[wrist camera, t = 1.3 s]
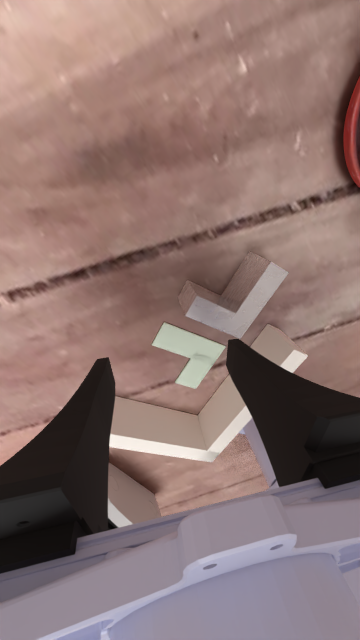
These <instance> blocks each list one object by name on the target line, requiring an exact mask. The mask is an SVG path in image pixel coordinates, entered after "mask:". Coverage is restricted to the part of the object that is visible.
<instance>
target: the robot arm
mask: <svg viewBox="0 0 360 640" xmlns="http://www.w3.org/2000/svg"><path fill="white" fill-rule="evenodd" d="M226 366H227V369H228V372H229V374H230V377H231V379H232V381H233V383H234V385H235V387H236V388H237V390H238V392H239V394H240V396H241V397H242V399H243V401H244V403H245V405H246V406H247V408H248V410H249V412H250V414H251V416H252V419H251V420H250V421H249V422H248V423H247V424H246V425H245V426H244V427H243V428H242V430H241V431H240V432H239V433H241V434H245V435H246V437H247V439H248V441H249V444H250V446H251V448H252V450H253V452H254V455H255V457H256V459H257V461H258V463H259V466H260V468H261V470H262V472H263V474H264V477H265V479H266V481H267V483H268V485H269V488H268V489H267V490H266V491H263V492H259V493H255V494H251V495H247V496H243V497H239V498H235V499H231V500H227V501H223V502H219V503H215V504H211V505H207V506H203V507H199V508H195V509H191V510H187V511H183V512H179V513H175V514H171V515H167V516H163V517H159V518H156V519H152V520H148V521H144V522H140V523H136V524H132V525H128V526H124V527H120V528H116V529H112V530H108V467H109V443H110V433H111V426H112V419H113V411H114V404H115V380H114V376H113V372H112V369H111V365H110V361H109V357H108V358H101V359H97V360H96V362H95V363H94V365H93V367H92V368H91V370H90V372H89V373H88V375H87V376H86V378H85V379H84V381H83V382H82V384H81V385H80V387H79V388H78V390H77V391H76V392H75V394H74V395H73V396H72V398H71V399H70V400H69V402H68V403H67V404H66V405H65V406H64V408H63V409H62V410H61V411H60V412H59V413H58V415H57V416H56V417H55V418H54V419H53V420H52V421H51V422H50V423H49V424H48V425H47V426H46V427H45V428H44V429H43V430H42V431H41V432H40V433H39V434H38V435H37V436H36V437H35V438H34V439H32V440H31V441H30V442H29V443H28V444H27V445H26V446H25V447H23V448H22V449H21V450H20V451H19V452H17V453H16V454H15V455H14V456H13V457H11V458H10V459H9V460H7V461H6V462H5V463H4V464H2V465H1V466H0V640H360V398H358V397H355V396H351V395H348V394H344V393H341V392H338V391H335V390H332V389H329V388H326V387H323V386H321V385H318V384H316V383H313V382H311V381H309V380H306V379H304V378H302V377H299V376H297V375H295V374H293V373H291V372H289V371H287V370H286V369H284V368H282V367H280V366H278V365H277V364H275V363H273V362H272V361H270V360H268V359H267V358H265V357H264V356H262V355H261V354H259V353H258V352H256V351H255V350H254V349H252V348H251V347H249V346H248V345H246V344H245V343H244V342H242V341H241V340H239V339H232V340H228V350H227V361H226Z"/></svg>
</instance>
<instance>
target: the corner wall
mask: <svg viewBox="0 0 360 640" xmlns="http://www.w3.org/2000/svg"><path fill="white" fill-rule="evenodd" d="M250 347H251V348H252V349H254V350H255V351H256V352H258V353H259V354H261V355H262V356H264V357H265V358H267V359H268V360H270V361H272V362H273V363H275V364H277V365H278V366H280V367H282V368H284V369H286V370H287V371H289V372H291V373H293V372H294V371H295V370H296V369H297V368H298V367H299V365H300V364H301V363H302V362H303V361H304V360H305V359H306V358H307V357H308V355H307V354H306V353H305V352H304V351H303V350H302V349H300V348H299V347H298V346H297V345H296V344H295V343H294V342H293V341H292V340H291V339H290V338H289V337H288V336H287V335H285V334H284V333H283V332H282V331H281V330H280V329H278V328H276V327H274V326H272V325H270V324H267V325H266V326H265V328H264V329H263V330H262V332H261V333H260V334H259V336H258V337H257V338H256V340H255V341H254V342H253V343H252V345H251V346H250ZM251 419H252V416H251V414H250V412H249V410H248V408H247V406H246V405H245V403H244V401H243V399H242V397H241V396H240V394H239V392H238V390H237V388H236V387H235V385H234V383H233V381H232V379H231V377H230V374H229V375H228V376H227V377H226V379H225V380H224V381H223V383H222V384H221V385H220V387H219V388H218V389H217V391H216V392H215V393H214V394H213V396H212V397H211V398H210V400H209V401H208V402H207V404H206V405H205V406H204V408H203V409H202V410H201V411H200V413H199V414H198V415H194V414H189V413H185V412H181V411H177V410H172V409H168V408H164V407H160V406H155V405H151V404H147V403H143V402H138V401H134V400H130V399H126V398H121V397H117V396H115V404H114V411H113V419H112V426H111V433H110V443H109V447H113V448H120V449H126V450H133V451H140V452H146V453H153V454H160V455H166V456H173V457H180V458H187V459H193V460H200V461H207V462H213V461H214V459H215V458H216V457H217V456H218V455H219V454H220V453H221V452H222V451H223V449H224V448H225V447H226V446H227V445H228V444H229V443H230V442H231V441H232V440H233V438H234V437H235V436H236V435H237V434H238V433H239V432H240V431H241V430H242V428H243V427H244V426H245V425H246V424H247V423H248V422H249V421H250V420H251Z"/></svg>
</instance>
